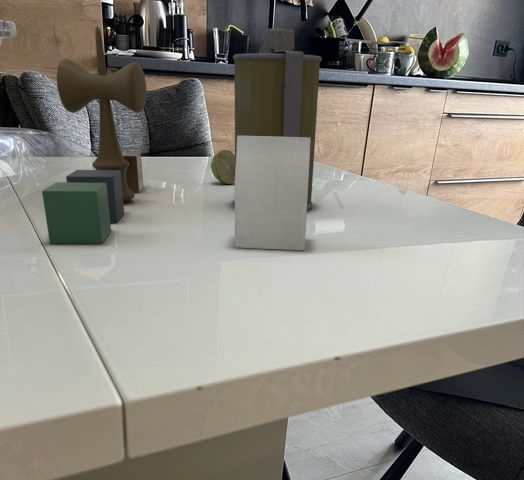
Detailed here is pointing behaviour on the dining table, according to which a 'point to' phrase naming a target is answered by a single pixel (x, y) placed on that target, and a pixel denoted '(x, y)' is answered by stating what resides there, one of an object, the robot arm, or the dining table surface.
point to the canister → (277, 93)
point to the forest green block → (77, 213)
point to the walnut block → (134, 171)
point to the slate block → (113, 188)
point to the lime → (224, 167)
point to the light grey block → (271, 192)
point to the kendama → (103, 103)
